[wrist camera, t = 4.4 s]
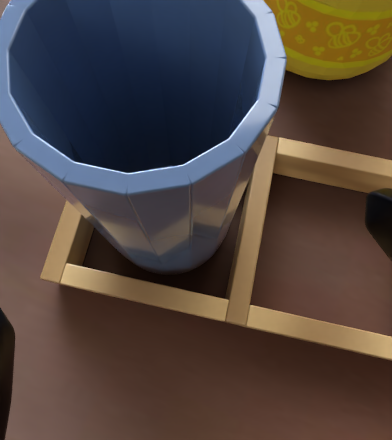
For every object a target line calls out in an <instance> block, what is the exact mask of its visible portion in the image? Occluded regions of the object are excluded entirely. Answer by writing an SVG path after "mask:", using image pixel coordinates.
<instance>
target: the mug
mask: <svg viewBox="0 0 392 440" xmlns="http://www.w3.org/2000/svg"><path fill="white" fill-rule="evenodd" d="M264 2H265V3H266V4H267V5H268V6H269V7H270V9H271V10H272V12H273V13H274V15H275V18H276V22H277V25H278V29H279V32H280V36H281V39H282V42H283V46H284V49H285V53H286V56H287V59H286V60H287V65H286V70H288V71H291V72H293V73H296V74H299V75H301V76H304V77H307V78H314V79H322V80H337V79H347V78H351V77H354V76H357V75H360V74H363V73H365V72H368V71H370V70H371V69H373V68H375V67H377V66H378V65H380V64H382V63H383V62H385V61H387V60H388V59H389V58H390V57H391V56H392V0H264Z"/></svg>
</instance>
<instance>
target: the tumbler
mask: <svg viewBox="0 0 392 440" xmlns="http://www.w3.org/2000/svg"><path fill="white" fill-rule="evenodd" d="M286 59H287V56H286V53H285V49H284V46H283V42H282V39H281V36H280V32H279V29H278V25H277V22H276V18H275V15H274V13H273V12H272V10H271V9H270V7H269V6H268V5H267V4H266V3H265V2H264V0H11V1H10V2H9V5H7V6H6V8H5V11H4V13H3V15H2V17H1V19H0V124H1V126H2V128H3V130H4V131H5V133H6V135H7V137H8V139H9V141H10V142H11V144H12V146H13V147H14V148H15V149H16V151H18V152H19V153H20V154H21V155H22V156H23V157H24V158H25V159H26V160H27V161H28V162H29V163H30V164H31V165H32V166H33V167H34V168H35V169H36V170H37V171H38V172H39V173H40V174H41V175H42V176H43V177H44V178H45V179H46V180H47V181H48V182H49V183H50V184H51V185H52V186H53V187H54V188H55V189H56V190H57V191H58V192H59V193H60V194H61V195H62V196H63V197H64V198H65V199H66V200H67V201H68V202H69V203H70V204H71V205H72V206H73V207H74V208H75V209H77V210H78V211H79V212H80V213H81V214H82V215H83V216H84V217H85V218H86V219H87V220H88V221H89V222H90V223H91V224H92V225H93V226H94V227H95V228H96V229H97V230H98V231H99V232H100V233H101V234H102V235H103V236H104V237H105V238H106V239H107V240H108V241H109V242H110V243H111V244H112V245H113V246H114V247H115V248H116V249H117V250H118V251H119V252H120V253H121V254H122V255H123V256H125V257H126V258H128V259H129V260H130V261H131V262H132V263H134V264H135V265H137V266H138V267H140V268H142V269H144V270H146V271H149V272H152V273H156V274H162V275H174V274H181V273H185V272H188V271H191V270H193V269H195V268H197V267H199V266H201V265H202V264H203V263H205V262H206V261H207V260H208V259H209V258H211V257H212V256H213V254H214V253H215V252H216V251H217V249H218V248H219V246H220V244H221V242H222V241H223V239H224V238H225V236H226V233H227V231H228V228H229V226H230V224H231V221H232V219H233V216H234V214H235V212H236V209H237V207H238V204H239V202H240V199H241V197H242V195H243V192H244V190H245V187H246V185H247V183H248V180H249V178H250V175H251V173H252V171H253V168H254V166H255V163H256V161H257V159H258V156H259V154H260V151H261V149H262V146H263V144H264V142H265V139H266V137H267V134H268V132H269V130H270V127H271V125H272V122H273V120H274V118H275V115H276V113H277V110H278V108H279V103H280V98H281V92H282V87H283V81H284V76H285V70H286V65H287V60H286Z"/></svg>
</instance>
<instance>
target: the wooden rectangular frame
mask: <svg viewBox="0 0 392 440" xmlns="http://www.w3.org/2000/svg"><path fill="white" fill-rule="evenodd" d="M273 173H275V174H280V175H284V176H289V177H294V178H299V179H304V180H308V181H313V182H318V183H323V184H327V185H332V186H337V187H342V188H346V189H351V190H356V191H361V192H365V193H370V192H372V191H375V190H379V189H382V188H389V189H392V160H387V159H382V158H377V157H372V156H367V155H363V154H358V153H353V152H348V151H343V150H338V149H333V148H329V147H324V146H319V145H314V144H309V143H304V142H299V141H294V140H290V139H285V138H278V137H274V136H269V135H267V137H266V139H265V142H264V144H263V146H262V149H261V151H260V154H259V156H258V159H257V161H256V163H255V166H254V168H253V171H252V173H251V175H250V178H249V180H248V184H247V189H246V194H245V200H244V205H243V210H242V215H241V220H240V225H239V230H238V235H237V241H236V246H235V251H234V256H233V261H232V266H231V271H230V277H229V282H228V287H227V292H226V297H225V299H223V298H218V297H214V296H210V295H205V294H201V293H196V292H192V291H188V290H183V289H179V288H174V287H170V286H165V285H161V284H157V283H152V282H148V281H143V280H139V279H135V278H130V277H126V276H121V275H117V274H113V273H108V272H104V271H99V270H95V269H91V268H86V267H82V265H83V262H84V258H85V255H86V252H87V249H88V246H89V242H90V239H91V236H92V233H93V230H94V226H93V225H92V224H91V223H90V222H89V221H88V220H87V219H86V218H85V217H84V216H83V215H82V214H81V213H80V212H79V211H78V210H77V209H75V208H74V207H73V206H72V205H71V204H70V203H69V202H68V201H67V200H66V203H65V206H64V209H63V212H62V215H61V218H60V221H59V224H58V227H57V230H56V233H55V236H54V238H53V241H52V244H51V247H50V250H49V253H48V256H47V259H46V262H45V265H44V268H43V271H42V274H41V277H40V279H42V280H46V281H49V282H53V283H57V284H60V285H65V286H69V287H73V288H78V289H82V290H86V291H91V292H95V293H99V294H104V295H108V296H113V297H117V298H121V299H126V300H130V301H134V302H139V303H143V304H147V305H152V306H156V307H160V308H165V309H169V310H173V311H178V312H182V313H186V314H191V315H195V316H200V317H204V318H208V319H213V320H217V321H222V322H226V323H230V324H234V325H240V326H243V327H247V328H252V329H256V330H260V331H265V332H269V333H273V334H278V335H282V336H286V337H291V338H295V339H300V340H304V341H308V342H313V343H317V344H321V345H326V346H330V347H334V348H339V349H343V350H347V351H352V352H356V353H360V354H365V355H369V356H373V357H378V358H382V359H386V360H391V361H392V337H390V336H386V335H381V334H377V333H373V332H368V331H364V330H359V329H355V328H351V327H346V326H342V325H337V324H333V323H328V322H324V321H320V320H315V319H311V318H306V317H302V316H298V315H293V314H289V313H284V312H280V311H276V310H271V309H267V308H262V307H258V306H254V305H250V301H251V295H252V289H253V283H254V278H255V272H256V266H257V261H258V255H259V249H260V243H261V238H262V232H263V226H264V221H265V215H266V209H267V204H268V198H269V192H270V186H271V181H272V175H273Z"/></svg>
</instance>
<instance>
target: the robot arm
mask: <svg viewBox="0 0 392 440" xmlns="http://www.w3.org/2000/svg"><path fill="white" fill-rule="evenodd" d="M365 225H366V228H367V230H368V231H369V233H370V234H371V235H372V237H373V238H374V239H375V240H376V242H377V243H378V244H379V246H380V247H381V248H382V249H383V251H384V252H385V253H386V255H387V256H388V257H389V258H390V260H391V261H392V189H389V188H382V189H379V190H375V191H372V192H370V193H369V194H368V195H367V197H366V210H365ZM14 349H15V332H14V329H13V327H12V325H11V323H10V322H9V320H8V319H7V317H6V316H5V314H4V313H3V311H2V310H1V308H0V440H5V434H6V429H7V423H8V417H9V411H10V405H11V396H12V383H13V366H14Z"/></svg>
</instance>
